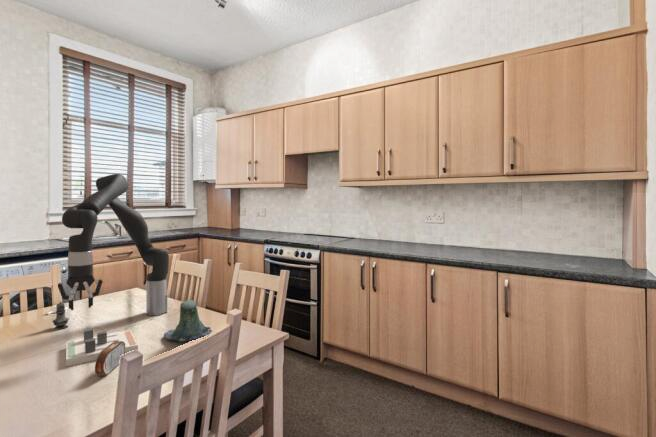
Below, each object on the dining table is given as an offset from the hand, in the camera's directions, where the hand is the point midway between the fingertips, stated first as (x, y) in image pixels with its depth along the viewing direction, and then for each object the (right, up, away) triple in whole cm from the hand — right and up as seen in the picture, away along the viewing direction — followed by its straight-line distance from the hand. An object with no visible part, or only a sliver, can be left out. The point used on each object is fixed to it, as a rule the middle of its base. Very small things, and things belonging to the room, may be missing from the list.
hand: (80, 308), depth 129 cm
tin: (+18, -19, -10) cm, 27 cm away
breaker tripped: (+5, -15, +5) cm, 16 cm away
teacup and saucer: (-41, -15, +46) cm, 64 cm away
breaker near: (+5, -15, -3) cm, 16 cm away
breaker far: (-2, -14, +7) cm, 16 cm away
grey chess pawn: (-27, -16, +26) cm, 41 cm away
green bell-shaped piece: (+32, -18, +19) cm, 42 cm away
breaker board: (+5, -17, +5) cm, 19 cm away
